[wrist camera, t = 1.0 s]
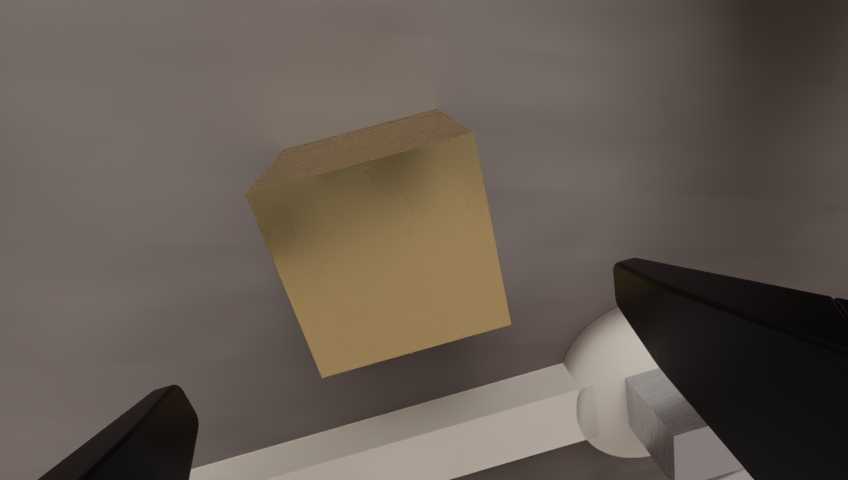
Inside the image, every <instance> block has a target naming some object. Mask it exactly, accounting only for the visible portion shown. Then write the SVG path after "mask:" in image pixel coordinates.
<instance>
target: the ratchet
mask: <svg viewBox="0 0 848 480" xmlns="http://www.w3.org/2000/svg"><path fill="white" fill-rule="evenodd" d="M584 440H588V442H589V443H590V444H591V445H593V446H594V447H596V448H597V449H599V450H600V451H602V452H604V453H607V454H610V455H613V456H618V457H626V458H640V457H647V456H652V458H653V459H654V460H655V462H656V463H657V465H658V466H659V467H660V469H661V470H662V471H663V473H664V474H665V476H666V477H667V478H668V480H706V479H710V478H713V477H716V476H720V475H723V474H726V473H730V472H733V471H737V470H740V469H743V468H744V467H743V466H742V465H741V464H740V463H739V461H738V460H737V459H736V458H735V457H734V456H733V454H732V453H731V452H730V451H729V450H728V448H727V447H726V446H725V445H724V444H723V443H722V441H721V440H720V439H719V438H718V437H717V435H716V434H715V433H714V432H713V431H712V430H711V428H710V427H709V426H708V425H707V424H706V423H705V421H704V420H703V419H702V418H701V417H700V415H699V414H698V413H697V412H696V411H695V410H694V408H693V407H692V406H691V405H690V404H689V403H688V401H687V400H686V399H685V398H684V397H683V395H682V394H681V393H680V392H679V391H678V390H677V388H676V387H675V386H674V385H673V384H672V383H671V381H670V380H669V379H668V378H667V377H666V375H665V374H664V373H663V372H662V370H661V369H660V368H659V367H658V365H657V364H656V362H655V361H654V360H653V358H652V357H651V355H650V354H649V352H648V351H647V349H646V348H645V346H644V345H643V343H642V342H641V340H640V339H639V338H638V336H637V335H636V333H635V332H634V330H633V329H632V327H631V326H630V324H629V323H628V321H627V320H626V318H625V317H624V315H623V314H622V312H621V311H620V309H619V307H616V308H614V309H612V310H610V311H608V312H607V313H605V314H603V315H602V316H600V317H599V318H597V319H596V320H595V321H593V322H592V323H591V324H590V325H588V326H587V327H586V328H585V329H584V330H583V331H582V332H581V333H580V334H579V336H578V337H577V338H576V339H575V341H574V342H573V343H572V345H571V346H570V348H569V350H568V352H567V354H566V356H565V358H564V361H563V363H561V364H557V365H554V366H550V367H547V368H543V369H540V370H536V371H533V372H529V373H526V374H522V375H519V376H515V377H512V378H508V379H505V380H501V381H498V382H494V383H491V384H487V385H484V386H480V387H477V388H473V389H470V390H466V391H463V392H459V393H456V394H452V395H449V396H445V397H442V398H438V399H435V400H431V401H428V402H424V403H421V404H417V405H414V406H410V407H407V408H403V409H400V410H396V411H393V412H389V413H386V414H382V415H379V416H376V417H372V418H369V419H365V420H362V421H358V422H355V423H351V424H348V425H344V426H341V427H337V428H334V429H330V430H327V431H323V432H320V433H316V434H313V435H309V436H306V437H302V438H299V439H295V440H292V441H288V442H285V443H281V444H278V445H274V446H271V447H267V448H264V449H260V450H257V451H253V452H250V453H246V454H243V455H239V456H236V457H232V458H229V459H225V460H222V461H218V462H215V463H211V464H208V465H204V466H201V467H197V468H194V469H191V473H190V478H189V480H450V479H453V478H457V477H460V476H464V475H467V474H470V473H474V472H477V471H481V470H484V469H488V468H491V467H494V466H498V465H501V464H505V463H508V462H512V461H515V460H518V459H522V458H525V457H529V456H532V455H536V454H539V453H542V452H546V451H549V450H553V449H556V448H560V447H563V446H566V445H570V444H573V443H577V442H580V441H584Z"/></svg>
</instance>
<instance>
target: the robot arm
mask: <svg viewBox="0 0 848 480" xmlns="http://www.w3.org/2000/svg"><path fill="white" fill-rule="evenodd" d="M613 274H614V286H615V298H616V302H617V305H618V307H619V309H620V311H621V312H622V314H623V315H624V317H625V318H626V320H627V321H628V323H629V324H630V326H631V327H632V329H633V330H634V332H635V333H636V335H637V336H638V338H639V339H640V340H641V342H642V343H643V345H644V346H645V348H646V349H647V351H648V352H649V354H650V355H651V357H652V358H653V360H654V361H655V362H656V364H657V365H658V367H659V368H660V369H661V370H662V372H663V373H664V374H665V375H666V377H667V378H668V379H669V380H670V381H671V383H672V384H673V385H674V386H675V387H676V388H677V390H678V391H679V392H680V393H681V394H682V395H683V397H684V398H685V399H686V400H687V401H688V403H689V404H690V405H691V406H692V407H693V408H694V410H695V411H696V412H697V413H698V414H699V415H700V417H701V418H702V419H703V420H704V421H705V423H706V424H707V425H708V426H709V427H710V428H711V430H712V431H713V432H714V433H715V434H716V435H717V437H718V438H719V439H720V440H721V441H722V443H723V444H724V445H725V446H726V447H727V448H728V450H729V451H730V452H731V453H732V454H733V456H734V457H735V458H736V459H737V460H738V461H739V463H740V464H741V465H742V466H743V467H744V468H745V470H746V471H747V472H748V473H749V474H750V476H751V477H752V478H753V479H754V480H848V300H846V299H841V298H835V299H834V300H833V298H832V297H830V296H825V295H820V294H815V293H810V292H805V291H800V290H795V289H790V288H785V287H780V286H775V285H770V284H765V283H760V282H755V281H750V280H745V279H740V278H735V277H730V276H725V275H720V274H715V273H710V272H704V271H699V270H694V269H689V268H684V267H679V266H674V265H669V264H664V263H659V262H654V261H649V260H644V259H639V258H631V259H627V260H623V261H620V262H617V263H616V264H615V265H614V268H613ZM198 426H199V424H198V417H197V414H196V412H195V411H194V409H193V407H192V405H191V404H190V402H189V400H188V398H187V397H186V395H185V393H184V391H183V390H182V389H181V387H179V386H177V385H170V386H167V387H163V388H160V389H156V390H154V391H153V392H151V393H150V394H149V395H147V396H146V397H145V398H143V399H142V400H141V401H140V402H138V403H137V404H136V405H134V406H133V407H132V408H130V409H129V410H128V411H127V412H125V413H124V414H123V415H121V416H120V417H119V418H117V419H116V420H115V421H113V422H112V423H111V424H110V425H108V426H107V427H106V428H104V429H103V430H102V431H100V432H99V433H98V434H97V435H95V436H94V437H93V438H91V439H90V440H89V441H87V442H86V443H85V444H83V445H82V446H81V447H80V448H78V449H77V450H76V451H74V452H73V453H72V454H70V455H69V456H68V457H67V458H65V459H64V460H63V461H61V462H60V463H59V464H57V465H56V466H55V467H53V468H52V469H51V470H50V471H48V472H47V473H46V474H44V475H43V476H42V477H40V478H39V479H38V480H189V478H190V473H191V467H192V461H193V456H194V450H195V444H196V438H197V433H198Z"/></svg>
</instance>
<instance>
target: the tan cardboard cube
mask: <svg viewBox="0 0 848 480" xmlns="http://www.w3.org/2000/svg"><path fill="white" fill-rule="evenodd" d="M246 196H247V198H248V201H249V203H250V205H251V208H252V210H253V213H254V215H255V218H256V220H257V222H258V225H259V227H260V230H261V232H262V234H263V237H264V239H265V242H266V244H267V246H268V249H269V251H270V254H271V256H272V259H273V261H274V263H275V266H276V268H277V271H278V273H279V275H280V278H281V280H282V283H283V285H284V288H285V290H286V292H287V295H288V297H289V300H290V302H291V304H292V307H293V309H294V312H295V314H296V316H297V319H298V321H299V324H300V326H301V329H302V331H303V333H304V336H305V338H306V341H307V343H308V345H309V348H310V350H311V353H312V355H313V358H314V360H315V362H316V365H317V367H318V370H319V372H320V374H321V377H322V378H324V377H328V376H331V375H335V374H338V373H342V372H345V371H349V370H352V369H356V368H359V367H363V366H366V365H370V364H374V363H377V362H381V361H384V360H388V359H391V358H395V357H398V356H402V355H405V354H409V353H413V352H416V351H420V350H423V349H427V348H430V347H434V346H437V345H441V344H444V343H448V342H452V341H455V340H459V339H462V338H466V337H469V336H473V335H476V334H480V333H483V332H487V331H490V330H494V329H498V328H501V327H505V326H508V325H511V321H510V316H509V310H508V305H507V300H506V295H505V290H504V285H503V280H502V274H501V269H500V264H499V259H498V254H497V249H496V243H495V238H494V233H493V228H492V223H491V218H490V213H489V207H488V202H487V197H486V192H485V187H484V182H483V176H482V171H481V166H480V161H479V156H478V151H477V146H476V140H475V135H474V132H472V131H470V130H469V129H467V128H466V127H464V126H463V125H461V124H460V123H458V122H456V121H455V120H453V119H452V118H450V117H449V116H447V115H446V114H444V113H442V112H441V111H439V110H438V109H437V110H433V111H429V112H426V113H422V114H418V115H414V116H411V117H407V118H403V119H399V120H396V121H392V122H388V123H384V124H381V125H377V126H373V127H369V128H366V129H362V130H358V131H354V132H351V133H347V134H343V135H339V136H336V137H332V138H328V139H324V140H321V141H317V142H313V143H309V144H306V145H302V146H298V147H294V148H291V149H287V150H283V151H282V153H281V154H280V155H279V156H278V157H277V158H276V160H275V161H274V162H273V163H272V164H271V165H270V167H269V168H268V169H267V170H266V171H265V172H264V173H263V175H262V176H261V177H260V178H259V179H258V180H257V182H256V183H255V184H254V185H253V186H252V187H251V189H250V190H249V191H248V192H247V193H246Z"/></svg>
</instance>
